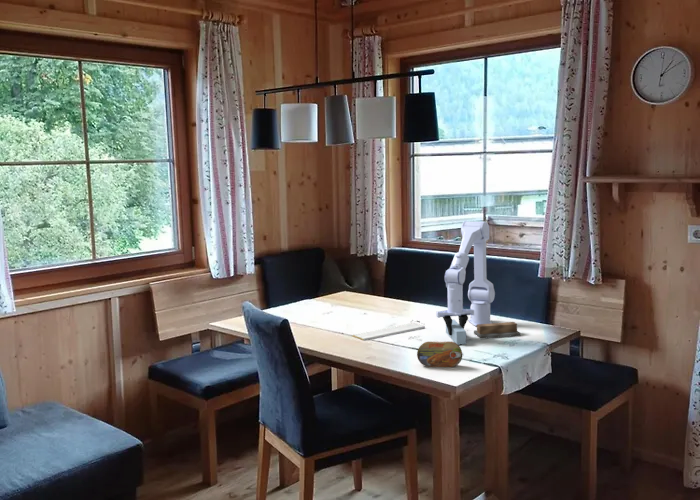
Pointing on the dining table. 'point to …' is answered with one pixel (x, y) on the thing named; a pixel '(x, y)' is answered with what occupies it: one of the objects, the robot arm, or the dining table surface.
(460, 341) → the beam
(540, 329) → the dining table surface
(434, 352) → the tin
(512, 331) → the stand
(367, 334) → the baseboard
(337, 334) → the dining table surface
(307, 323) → the dining table surface
